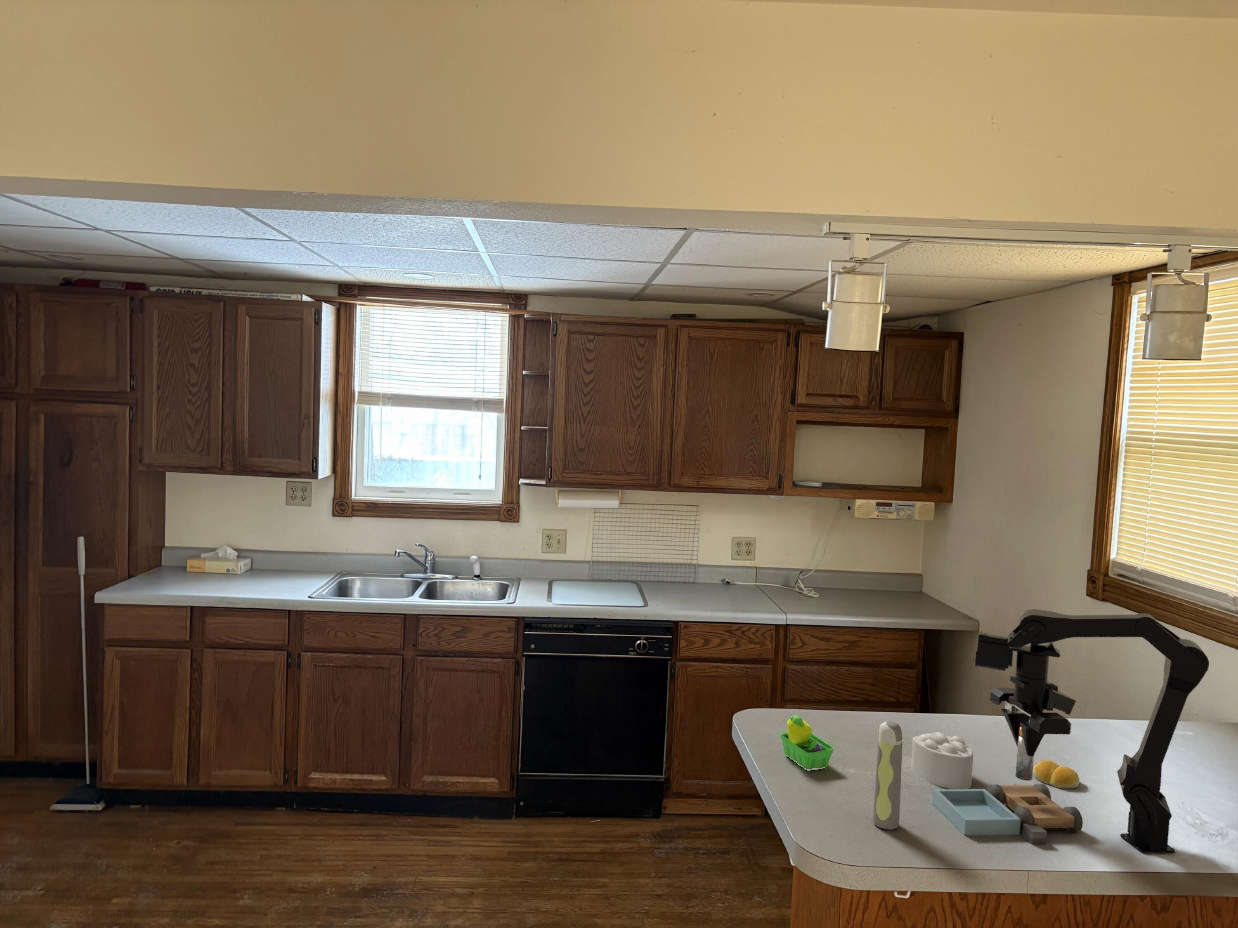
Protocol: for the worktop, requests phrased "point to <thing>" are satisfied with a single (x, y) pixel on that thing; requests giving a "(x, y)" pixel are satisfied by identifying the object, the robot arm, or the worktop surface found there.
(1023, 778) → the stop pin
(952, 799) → the tray
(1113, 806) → the worktop surface
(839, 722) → the worktop surface
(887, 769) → the grey and yellow cylinder
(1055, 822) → the dolly
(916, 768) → the lumpy-topped squat cylinder
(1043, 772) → the bread roll
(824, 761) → the fruit basket
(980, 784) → the worktop surface
